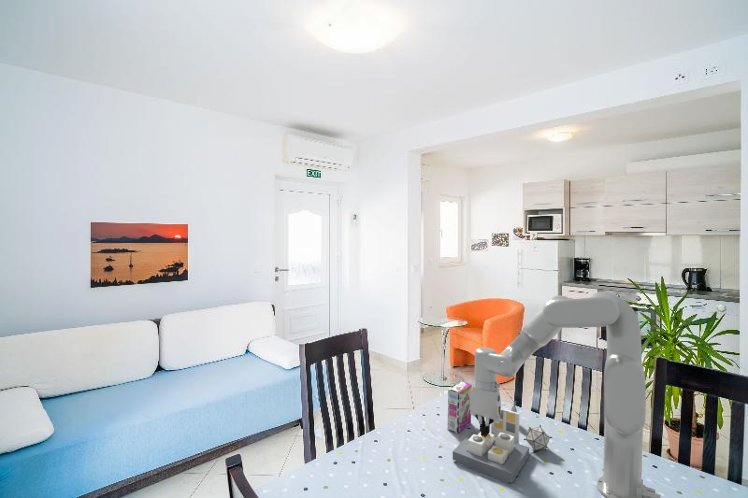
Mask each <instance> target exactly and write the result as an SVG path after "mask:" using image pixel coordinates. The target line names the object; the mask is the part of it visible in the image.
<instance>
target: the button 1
mask: <svg viewBox="0 0 748 498" xmlns="http://www.w3.org/2000/svg"><path fill="white" fill-rule="evenodd" d="M468 452H469V453H472V454H475V455H477V456H480V457H483V456H484V455H485V453H486V452H487V438H484V437H481V436H478V435H475V434H473V435H472V436H471V437H470V438H469V440H468Z"/></svg>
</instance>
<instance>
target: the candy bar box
mask: <svg viewBox="0 0 748 498" xmlns="http://www.w3.org/2000/svg"><path fill="white" fill-rule="evenodd" d="M472 387H473V384H472V383H467V382H465V381H460V382H458V383H456V384H455V385H454V386H451V387H449V388H448V391H447V393H448V394H447V395H448V397H447V431H450V432H453V433H455V434H460V433H461V432H462V431H463V430H464V429H466V428H467V427H468V426H469V425H470V424H471V423H472V415H471V414H470V398H471V392H472Z"/></svg>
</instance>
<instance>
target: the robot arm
mask: <svg viewBox="0 0 748 498" xmlns="http://www.w3.org/2000/svg"><path fill="white" fill-rule="evenodd" d="M602 327H606V329H605V330H606V359H605V364H604V370H603V371H604V372H603V373H604V374H603V415H604V426H603V428H604V429H603V431H604V432H603V434H604V435H603V468H602V469H603V471H602V472H603V473H602V474H603V475H602V476H601V477H599V478H598V479H597V481H596V486H597V489H598V491H599V492H600V493H601V495H603V496H604V497H606V498H661V494H659V493H656V489H655V488H652V487H649V486H646V485H645V484H644V479H642V474H643V473H642V470H643V445H644V444H643V442H644V441H643V439H644V433H643V432H644V427H645V423H646V402H647V401H646V400H647V399H646V397H647V396H646V395H647V394H646V390H647V389H646V388H647V387H646V375H645V371H644V367H643V361H642V360H643V359H642V358H643V357H642V332H641V326H640V322H639V318H638V316H637V314H636V312H635V309H633V307H632V306H631V305H630V304H629V303H628V302H627V301H626V300H624V299H623V298H622V297H620V296H619V295H616V293H615V294H614V293H612V292H608V291H597V292H594V293H593V294H592V295H590V297H582V298H570V297H568V296H566V295H563V294H562V295H558V294H557V295H554V296H552V297H551V298H550V299H549V300H548V301H547V302H546V303H545V304H544V305H543V306H542V307H541V308H540V309H539V310H538V311H537V312H536V313H535V315H534V316H532V318H530V320H529V321H528V322H527V323H526V324H525V325H524V326H523V328H522V330H521V331H520V333H519V334H518V335H517V336H516V337H515V338H514V339H513V340H512V341H511V343H510V344H509V345H508V346H507V347H506V348H505V349H504V350H502V351H501V353H497V351H496V350H495V349H494V348H491V347H485V346H484V347H478V348H476V349H475V351H474V384H472V392H471V398H470V414H471V416H473V417H475V418H476V420H477V421H478V424H479V431H480V432H481V436H484V437H486V436H487V435H488V434H489V433H490V432H491V431H490V430H491V429H490V427H491V423H493V422H494V423H499V422H500V421H501V420H500V415H501V408H502V400H501V399H502V398H501V394H500V393H501V391H500V388H501V386H502V385H501V383H499V382H498V380H497V379H498V377H497V376H501V377H505V378H512V377H514V376H515V375H516V374H517V373H518V371H519V370H520V368H521V367H522V365H524V363H526V362H527V360H529V359H530V357H531V356H532V355H533V354H534V353H535V352H537V350H539V349H540V348H542V347H545V346H547V344H549V342H551V340H552V339H554V337H556V335H557V334H559V332H560V331H561V330H563V329H571V328H572V329H577V328H579V329H580V328H602Z"/></svg>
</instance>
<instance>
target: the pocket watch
mask: <svg viewBox="0 0 748 498" xmlns="http://www.w3.org/2000/svg"><path fill="white" fill-rule="evenodd" d="M516 404H517V401H516V400H514V401H513V404H512V406H511V410H510V411H513V412H517V411H518V410H517V408H516ZM517 413H518V412H517Z"/></svg>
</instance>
